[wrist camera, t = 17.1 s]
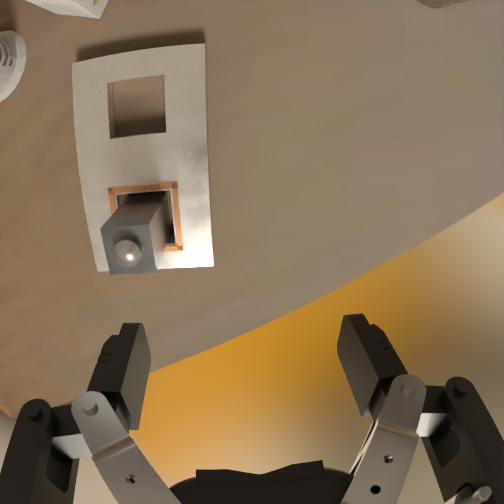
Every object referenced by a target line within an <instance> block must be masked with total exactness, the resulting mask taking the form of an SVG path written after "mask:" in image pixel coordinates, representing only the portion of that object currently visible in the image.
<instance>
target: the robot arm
mask: <svg viewBox="0 0 504 504" xmlns="http://www.w3.org/2000/svg"><path fill="white" fill-rule="evenodd" d="M418 1H420V2H421V3H423V4H425V5H427V6H430V7H434V8H441V7H445V6H450V5H452V4H456V3H461V2H465V1H469V0H418ZM337 351H338V357H339V359H340V362H341V364H342V367H343V369H344V372H345V374H346V377H347V379H348V382H349V385H350V387H351V390H352V392H353V395H354V397H355V400H356V403H357V405H358V408H359V411H360V413H361V416H362V417H367V416H372V418H373V420H374V421H373V423H372V425H371V427H370V430H369V432H368V434H367V436H366V439H365V441H364V443H363V446H362V448H361V450H360V452H359V454H358V456H357V458H356V460H355V462H354V464H353V466H352V468H351V469H350V471H349V473H347V472H344V471H341V470H337V469H333V468H326V467H324V466H323V462H322V460H320V461H313V462H307V463H300V464H292V465H289V466H286V467H284V468H281V469H277V470H275V471H271V472H268V473H265V474H252V473H245V472H240V471H234V470H227V469H221V470H196V477H193V478H189V479H186V480H183V481H181V482H179V483H177V484H175V485H173V486H172V487H170V488H168V487H167V486H166V485H165V483H164V482H163V481H162V479H161V478H160V477H159V475H158V474H157V473H156V471H155V470H154V469H153V467H152V466H151V465H150V463H149V462H148V461H147V459H146V458H145V456H144V455H143V454H142V452H141V451H140V449H139V448H138V447H137V445H136V444H135V442H134V441H133V439H132V438H130V436H129V435H128V434H129V429H130V430H138V429H139V423H140V417H141V411H142V406H143V400H144V395H145V390H146V385H147V380H148V375H149V370H150V364H151V355H150V349H149V346H148V342H147V338H146V334H145V330H144V326H143V324H142V323H123V325H122V327H121V330H120V333H119V335H112V336H111V337H110V338H109V339H108V340H107V341H106V342H105V343H104V345H103V348H102V350H101V353H100V354H101V355H99V358H98V363H97V364H96V366H95V369H94V372H93V375H92V377H91V380H90V383H89V386H88V389H87V392H85V393H82V394H80V395H79V396H77V397H76V398H75V400H74V401H73V403H72V404H71V405H67V406H60V407H53V408H51V407H50V405H49V404H48V403H47V402H46V401H45V400H42V399H33V400H30V401H28V402H27V403H25V404H24V405H23V407H22V408H21V410H20V413H19V415H18V418H17V421H16V424H15V427H14V430H13V433H12V436H11V439H10V442H9V446H8V448H7V452H6V455H5V458H4V462H3V466H2V469H1V473H0V504H73V499H74V491H75V484H76V477H77V471H78V465H79V459H80V458H84V457H91V456H92V459H93V461H94V463H95V465H96V467H97V469H98V471H99V472H100V474H101V476H102V478H103V479H104V481H105V483H106V484H107V486H108V488H109V489H110V491H111V493H112V494H113V496H114V497H115V499H116V500H117V502H118V504H396V503H397V500H398V498H399V495H400V492H401V490H402V487H403V485H404V482H405V479H406V476H407V473H408V471H409V468H410V465H411V462H412V458H413V455H414V452H415V449H416V445H417V442H418V438H419V437H421V439H422V441H423V443H424V446H425V449H426V451H427V454H428V457H429V459H430V462H431V465H432V468H433V470H434V473H435V476H436V479H437V482H438V484H439V488H440V490H441V493H442V496H443V499H444V502H445V503H444V504H504V440H503V438H502V436H501V434H500V433H499V431H498V429H497V427H496V425H495V423H494V421H493V419H492V417H491V416H490V414H489V412H488V410H487V409H486V406H485V405H484V403H483V401H482V399H481V398H480V396H479V394H478V392H477V391H476V389H475V387H474V386H473V384H472V383H471V382H470V381H469V380H467V379H465V378H462V377H453V378H451V379H449V380H448V381H447V382H446V384H445V386H427V385H425V384H424V382H423V381H422V380H421V379H419V378H418V377H416V376H414V375H410V374H408V373H407V371H406V369H405V367H404V366H403V364H402V362H401V360H400V359H399V357H398V355H397V353H396V352H395V350H394V349H393V347H392V345H391V343H390V342H389V340H388V338H387V336H386V335H385V333H384V331H382V330H381V329H380V328H379V327H377V326H376V325H375V324H372V325H369V323H368V321H367V319H366V318H365V316H364V315H363V314H362V313H361V314H350V315H345V316H344V317H343V320H342V325H341V330H340V334H339V339H338V343H337Z"/></svg>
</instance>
